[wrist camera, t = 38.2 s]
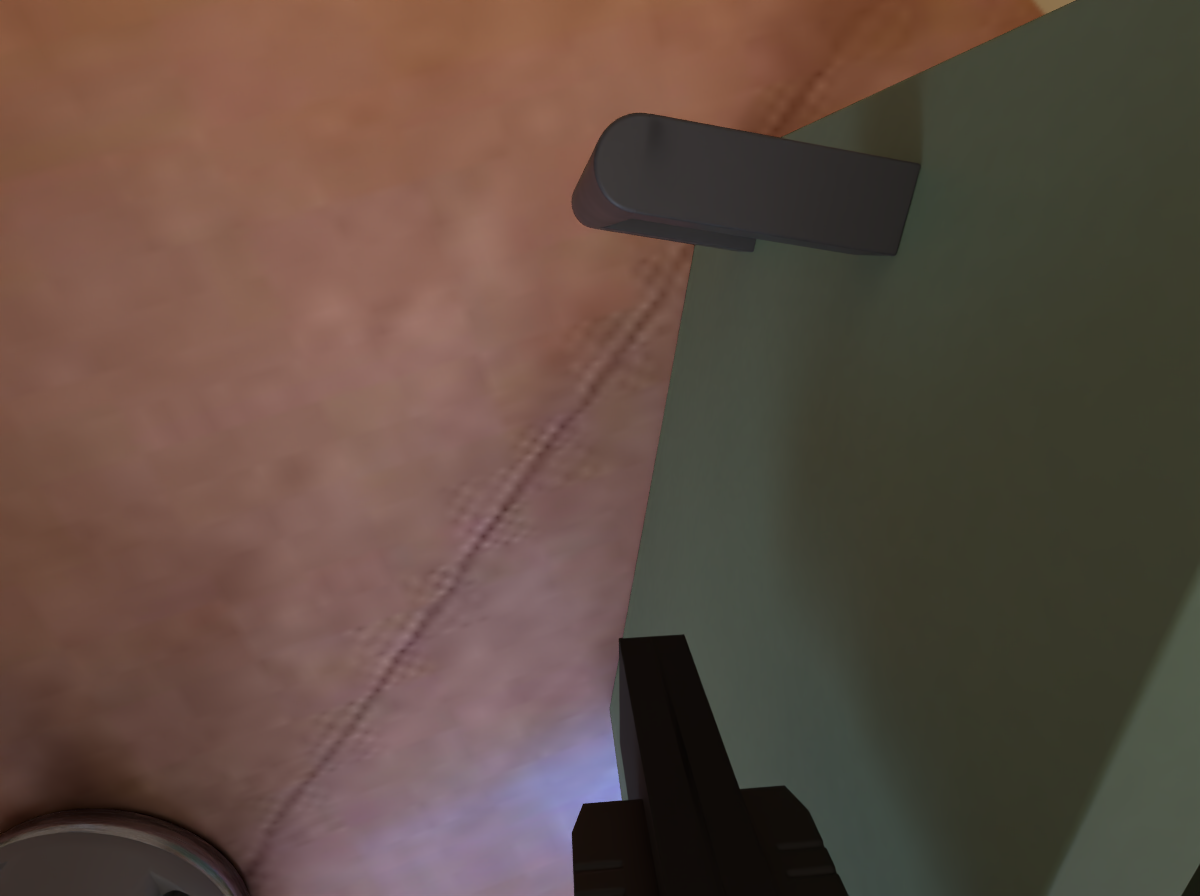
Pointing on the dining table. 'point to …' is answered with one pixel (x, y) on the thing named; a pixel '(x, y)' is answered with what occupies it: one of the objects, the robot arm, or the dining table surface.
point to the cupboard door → (944, 456)
